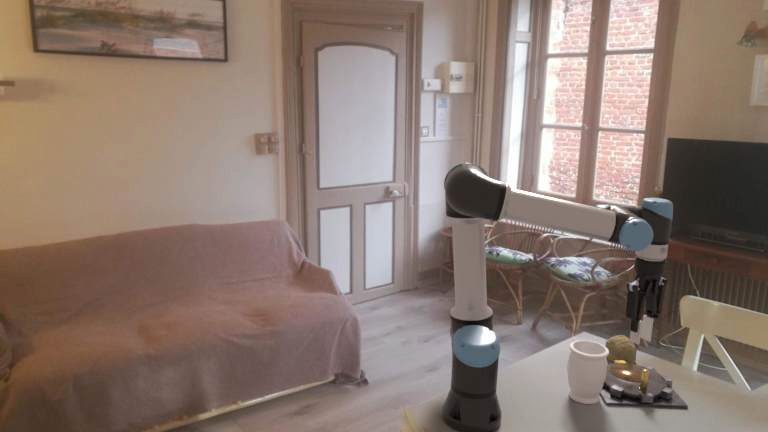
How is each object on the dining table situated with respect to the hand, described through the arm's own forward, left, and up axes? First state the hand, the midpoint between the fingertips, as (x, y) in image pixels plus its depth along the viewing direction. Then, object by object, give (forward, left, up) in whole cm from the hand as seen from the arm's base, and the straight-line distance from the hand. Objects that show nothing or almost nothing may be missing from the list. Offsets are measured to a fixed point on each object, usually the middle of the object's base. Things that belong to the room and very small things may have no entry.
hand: (640, 340), depth 160 cm
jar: (-12, +2, -19) cm, 23 cm away
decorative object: (+7, +27, -19) cm, 34 cm away
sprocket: (+4, +9, -18) cm, 20 cm away
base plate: (+4, +9, -19) cm, 21 cm away
